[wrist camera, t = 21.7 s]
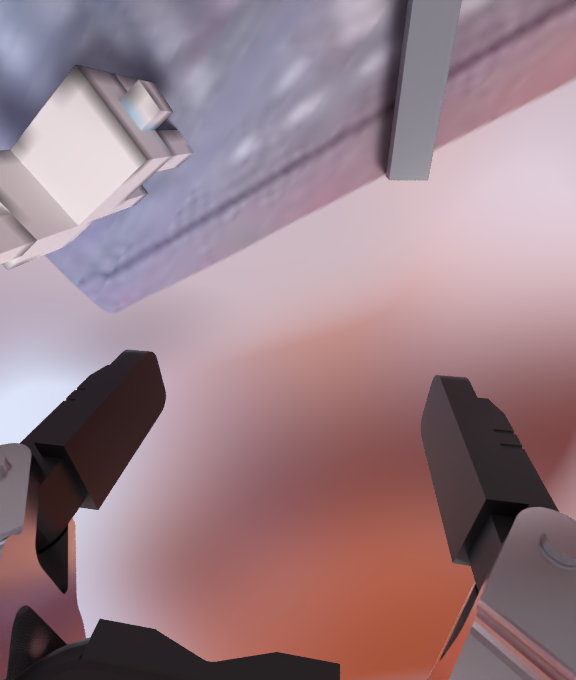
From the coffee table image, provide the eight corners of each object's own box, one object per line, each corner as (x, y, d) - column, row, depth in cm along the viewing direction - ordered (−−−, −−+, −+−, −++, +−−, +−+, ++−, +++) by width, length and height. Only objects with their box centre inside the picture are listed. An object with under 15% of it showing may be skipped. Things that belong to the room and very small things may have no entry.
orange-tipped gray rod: (375, 175, 35) (379, 182, 31) (421, -231, 22) (438, -315, 18) (431, 175, 34) (443, 182, 30) (512, -245, 21) (552, -336, 17)
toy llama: (210, 137, 35) (84, 146, 18) (109, 227, 42) (-49, 293, 25) (160, 62, 32) (-41, -9, 16) (61, 172, 39) (-151, 204, 23)
